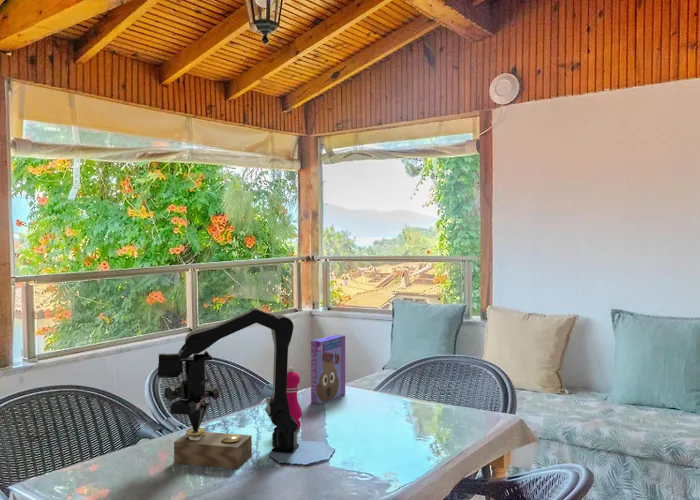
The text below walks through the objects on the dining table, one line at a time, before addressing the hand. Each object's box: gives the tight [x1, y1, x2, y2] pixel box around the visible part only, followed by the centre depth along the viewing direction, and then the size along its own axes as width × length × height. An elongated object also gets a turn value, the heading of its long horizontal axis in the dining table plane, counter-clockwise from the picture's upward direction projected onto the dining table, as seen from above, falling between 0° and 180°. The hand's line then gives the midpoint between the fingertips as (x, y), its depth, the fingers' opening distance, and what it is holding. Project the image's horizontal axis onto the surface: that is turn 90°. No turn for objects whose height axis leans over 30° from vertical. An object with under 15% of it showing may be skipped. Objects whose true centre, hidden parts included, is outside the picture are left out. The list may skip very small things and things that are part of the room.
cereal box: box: [310, 334, 346, 406], centre depth 234 cm, size 17×5×24 cm, turn 149°
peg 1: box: [185, 427, 206, 440], centre depth 170 cm, size 5×5×6 cm
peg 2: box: [222, 433, 241, 443], centre depth 168 cm, size 5×5×6 cm
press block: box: [173, 431, 253, 470], centre depth 169 cm, size 19×10×6 cm, turn 77°
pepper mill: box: [287, 366, 303, 430], centre depth 198 cm, size 7×7×20 cm
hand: (195, 430), depth 170 cm, fingers closed, pressing on peg 1
